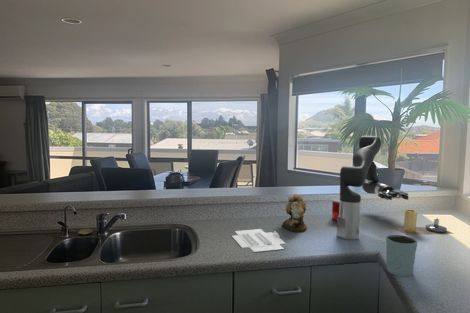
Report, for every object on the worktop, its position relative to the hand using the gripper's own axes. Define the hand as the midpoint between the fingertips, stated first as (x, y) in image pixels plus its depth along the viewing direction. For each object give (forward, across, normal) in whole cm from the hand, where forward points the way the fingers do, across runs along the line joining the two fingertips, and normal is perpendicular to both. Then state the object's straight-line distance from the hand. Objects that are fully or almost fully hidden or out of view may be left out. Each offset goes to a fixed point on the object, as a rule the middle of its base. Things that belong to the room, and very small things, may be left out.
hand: (399, 197), depth 175 cm
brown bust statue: (0, -54, +15) cm, 56 cm away
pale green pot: (+53, -27, +15) cm, 62 cm away
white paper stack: (+20, -75, +15) cm, 79 cm away
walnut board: (+11, +7, +15) cm, 20 cm away
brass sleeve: (+11, 0, +14) cm, 18 cm away
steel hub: (+10, +14, +14) cm, 22 cm away
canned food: (-13, -26, +16) cm, 33 cm away
